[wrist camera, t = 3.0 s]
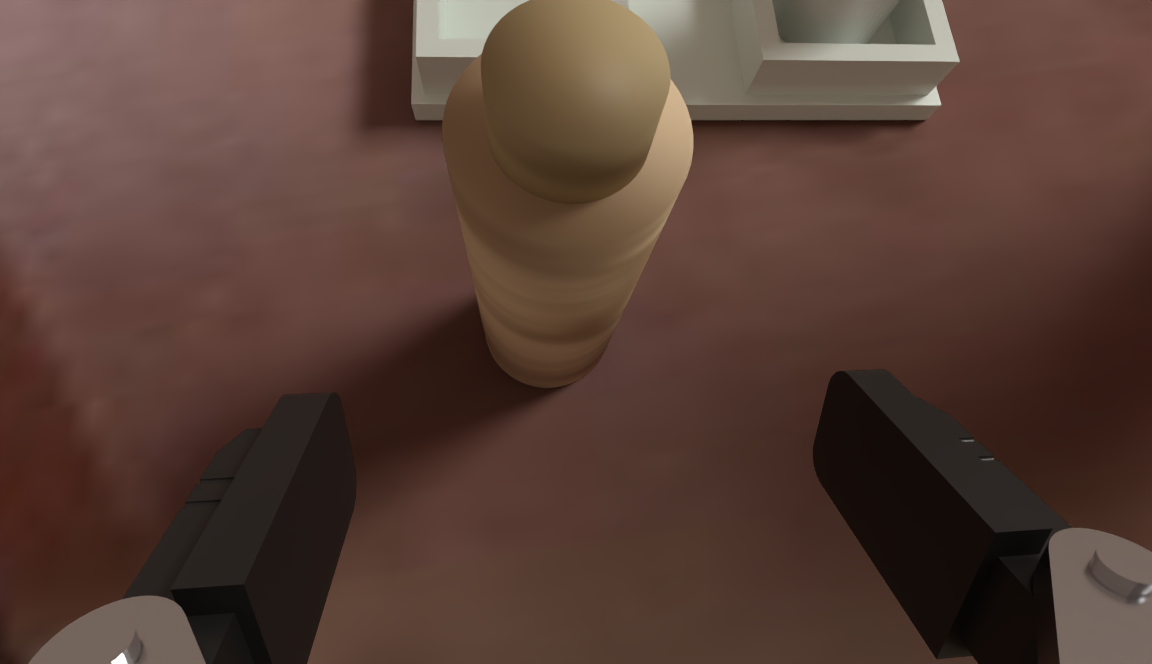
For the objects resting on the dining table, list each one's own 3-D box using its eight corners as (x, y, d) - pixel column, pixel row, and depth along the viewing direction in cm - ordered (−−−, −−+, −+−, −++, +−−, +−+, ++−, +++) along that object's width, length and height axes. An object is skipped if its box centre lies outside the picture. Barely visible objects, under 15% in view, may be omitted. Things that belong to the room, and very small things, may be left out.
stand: (415, 120, 25) (401, 67, 22) (418, -52, 27) (406, -119, 24) (926, 120, 27) (974, 72, 24) (884, -40, 29) (923, -101, 26)
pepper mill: (536, 247, 23) (549, -88, 10) (632, 317, 23) (772, 55, 10) (458, 337, 22) (364, 82, 9) (559, 413, 22) (610, 257, 9)
